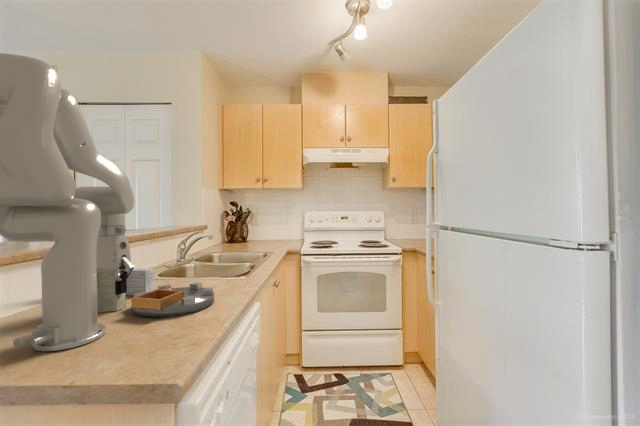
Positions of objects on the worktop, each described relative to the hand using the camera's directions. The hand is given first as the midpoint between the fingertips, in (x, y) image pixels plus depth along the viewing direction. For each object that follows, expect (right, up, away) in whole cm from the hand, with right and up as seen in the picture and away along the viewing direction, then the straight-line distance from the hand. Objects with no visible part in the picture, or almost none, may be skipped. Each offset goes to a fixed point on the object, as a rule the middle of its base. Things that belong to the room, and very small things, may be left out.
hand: (110, 292), depth 87 cm
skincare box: (0, -5, 0) cm, 5 cm away
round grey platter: (+17, -5, +3) cm, 18 cm away
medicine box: (-1, -5, +16) cm, 17 cm away
